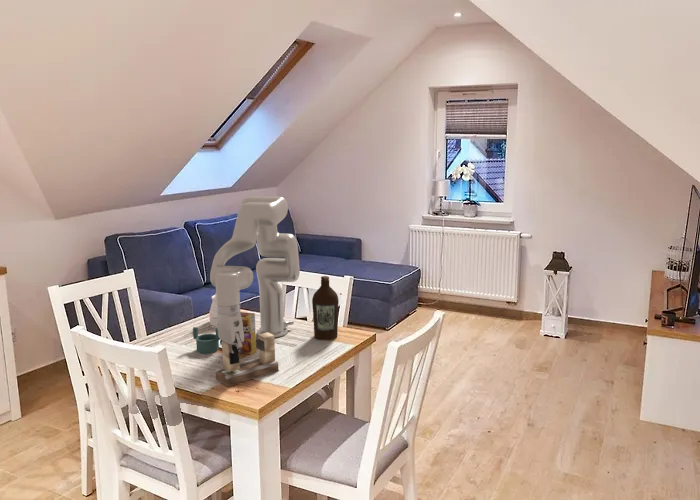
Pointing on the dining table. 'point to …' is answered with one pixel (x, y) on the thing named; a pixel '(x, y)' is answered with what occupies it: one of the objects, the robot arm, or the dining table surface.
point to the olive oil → (325, 311)
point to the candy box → (248, 333)
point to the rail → (252, 363)
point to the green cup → (206, 342)
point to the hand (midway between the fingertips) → (231, 360)
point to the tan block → (228, 357)
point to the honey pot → (214, 312)
